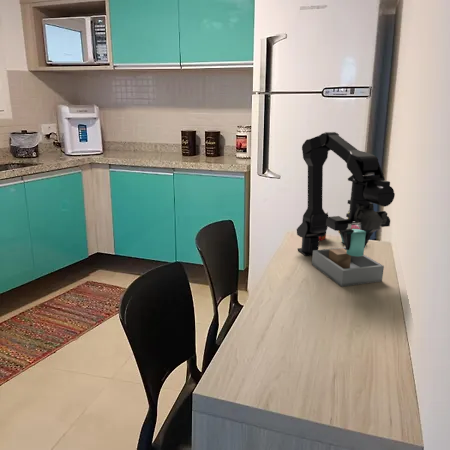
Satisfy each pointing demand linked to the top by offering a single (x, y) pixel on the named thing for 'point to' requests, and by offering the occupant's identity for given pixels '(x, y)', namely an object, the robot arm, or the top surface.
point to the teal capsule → (357, 243)
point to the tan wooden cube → (340, 257)
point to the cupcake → (351, 228)
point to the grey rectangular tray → (348, 269)
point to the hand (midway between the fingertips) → (355, 248)
